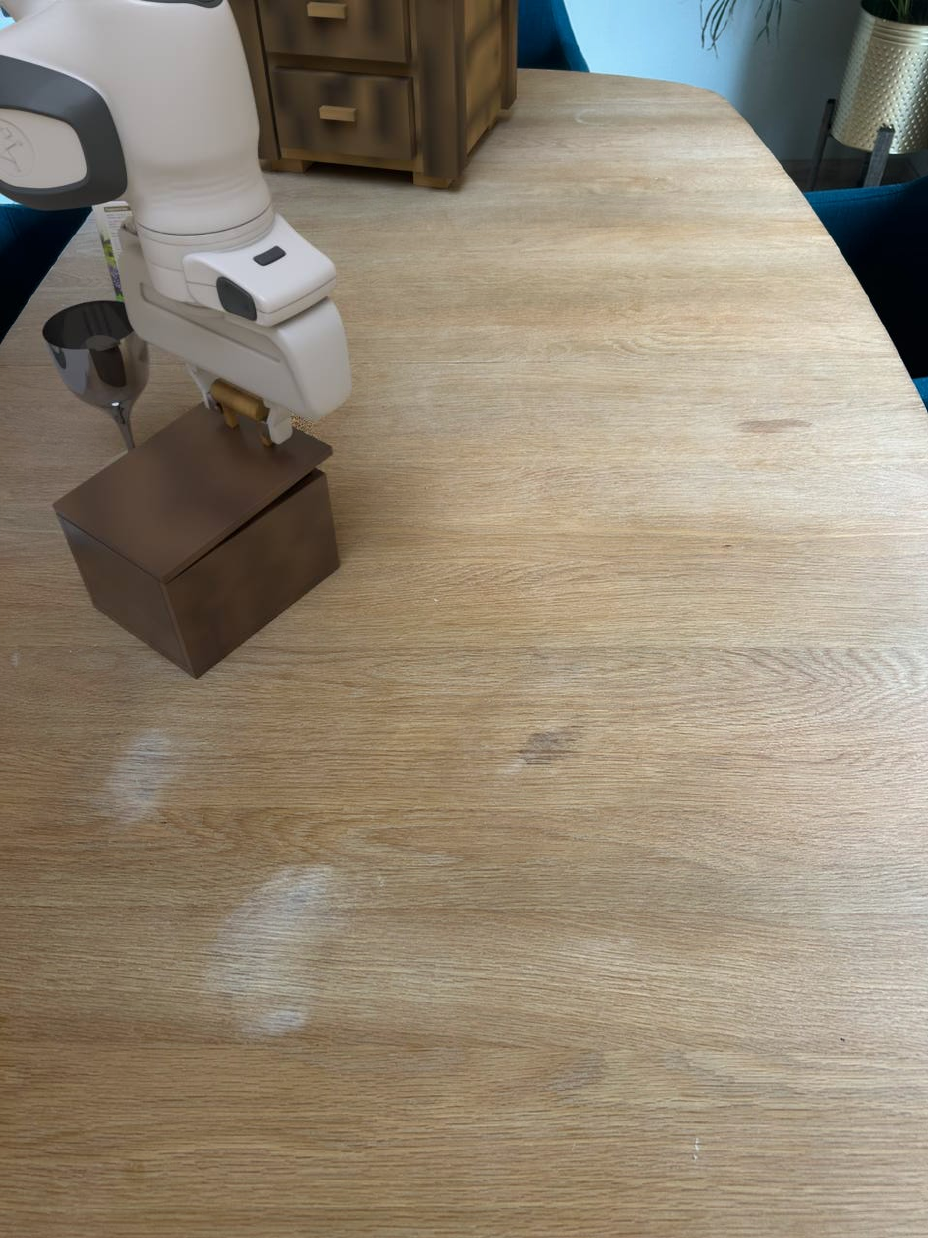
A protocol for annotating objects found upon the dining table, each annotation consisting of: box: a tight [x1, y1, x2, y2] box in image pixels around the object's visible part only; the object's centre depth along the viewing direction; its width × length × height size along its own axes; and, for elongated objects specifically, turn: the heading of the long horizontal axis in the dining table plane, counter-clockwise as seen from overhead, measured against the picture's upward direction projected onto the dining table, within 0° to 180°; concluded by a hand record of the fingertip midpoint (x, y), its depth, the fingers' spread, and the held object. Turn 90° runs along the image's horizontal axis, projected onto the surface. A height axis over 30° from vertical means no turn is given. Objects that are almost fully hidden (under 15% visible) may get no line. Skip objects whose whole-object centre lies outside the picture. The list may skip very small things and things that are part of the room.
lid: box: [51, 378, 334, 584], centre depth 73 cm, size 17×13×5 cm
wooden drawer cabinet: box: [227, 0, 519, 189], centre depth 134 cm, size 35×35×33 cm
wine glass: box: [41, 299, 151, 471], centre depth 87 cm, size 8×8×15 cm
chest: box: [55, 467, 341, 680], centre depth 78 cm, size 16×13×10 cm
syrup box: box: [91, 199, 133, 303], centre depth 107 cm, size 6×6×14 cm
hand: (249, 422), depth 76 cm, fingers closed on lid, 5 cm apart
